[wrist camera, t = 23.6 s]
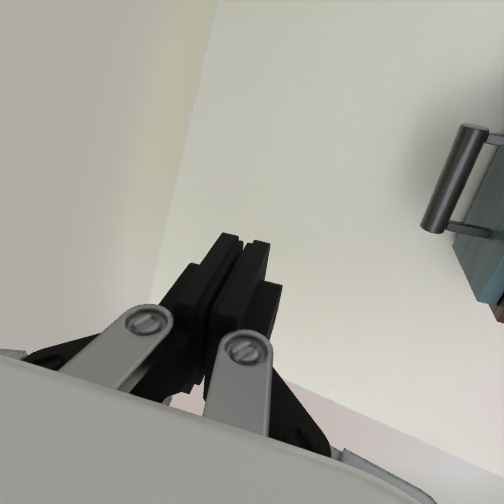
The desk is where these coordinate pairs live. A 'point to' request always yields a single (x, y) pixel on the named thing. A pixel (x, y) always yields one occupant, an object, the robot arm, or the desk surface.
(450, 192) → the drawer
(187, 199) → the desk surface
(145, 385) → the robot arm
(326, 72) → the desk surface
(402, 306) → the desk surface
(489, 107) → the desk surface
